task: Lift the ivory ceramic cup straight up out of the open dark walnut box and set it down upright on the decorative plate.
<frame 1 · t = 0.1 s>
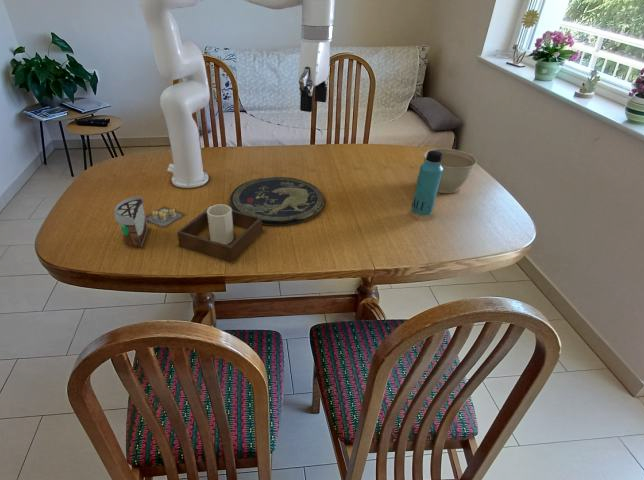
hand: (313, 106, 108), 31 cm above the table, tool pointing down, fingers open, 9 cm apart
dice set: (164, 217, 123), on the table
food container: (133, 239, 113), on the table
wooden box: (222, 238, 113), on the table
decorative plate: (277, 201, 131), on the table
beverage bottle: (420, 215, 125), on the table
cup: (220, 224, 111), in the wooden box
planter bowl: (442, 188, 139), on the table
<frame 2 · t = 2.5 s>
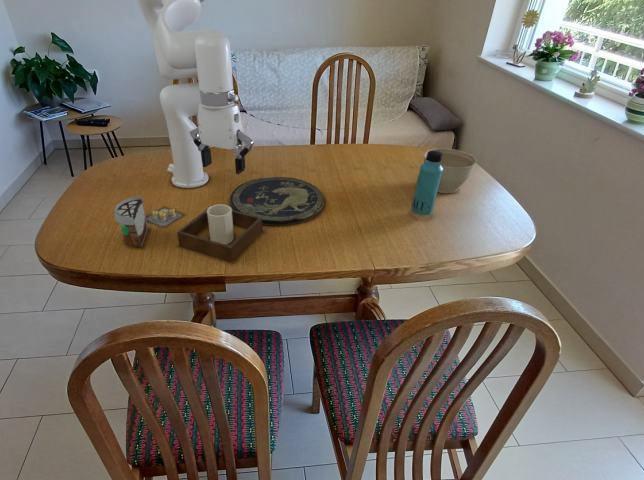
hand: (223, 168, 102), 20 cm above the table, tool pointing down, fingers open, 9 cm apart
nothing on the table moved.
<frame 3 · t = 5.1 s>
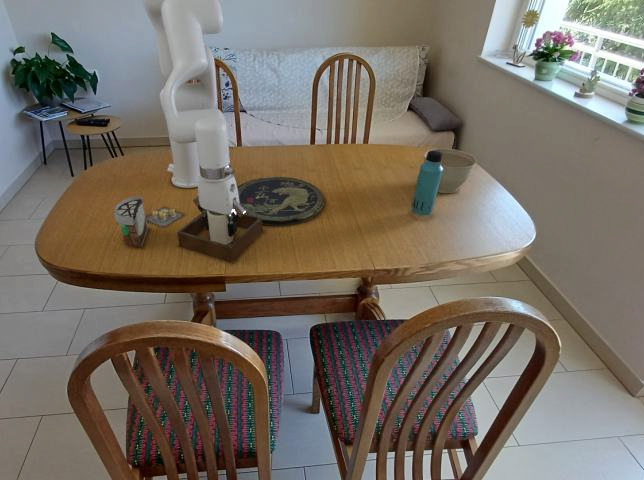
hand: (221, 230, 112), 3 cm above the table, tool pointing down, fingers closed on cup, 6 cm apart
cup: (220, 224, 111), in the wooden box, touching gripper
everything else where it was.
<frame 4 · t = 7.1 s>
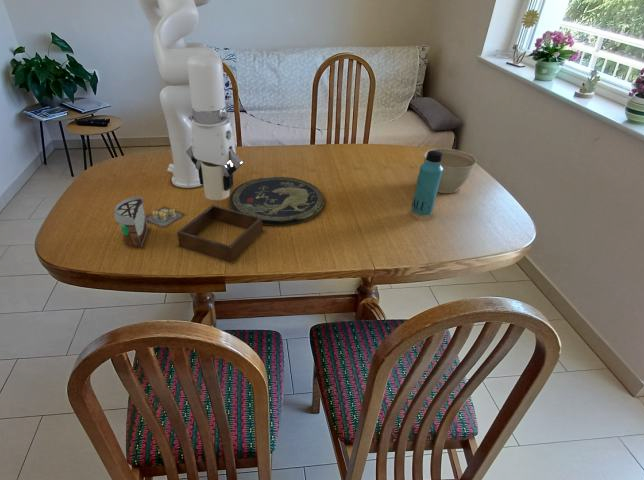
hand: (216, 184, 104), 16 cm above the table, tool pointing down, fingers closed on cup, 6 cm apart
cup: (215, 178, 103), point 18 cm above the table, touching gripper
everything else where it was.
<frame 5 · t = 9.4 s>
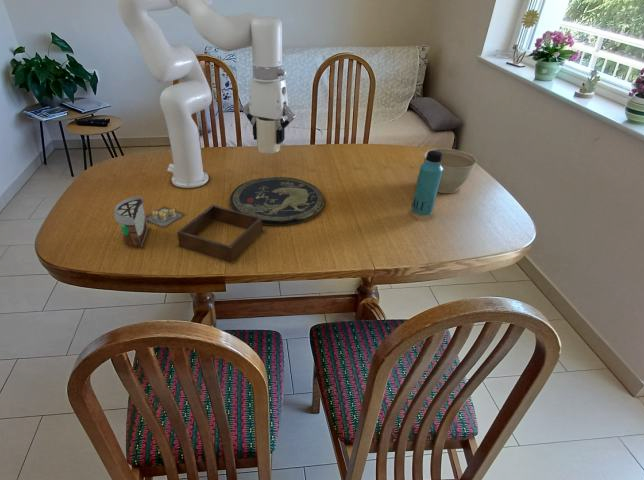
hand: (268, 139, 116), 21 cm above the table, tool pointing down, fingers closed on cup, 6 cm apart
cup: (268, 133, 114), point 23 cm above the table, touching gripper
everything else where it was.
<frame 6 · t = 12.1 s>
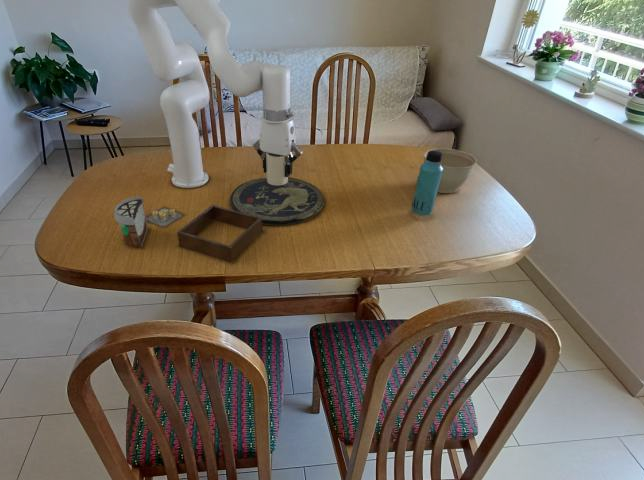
hand: (277, 172, 125), 10 cm above the table, tool pointing down, fingers closed on cup, 6 cm apart
cup: (277, 167, 124), point 12 cm above the table, touching gripper
everything else where it was.
when the fingers open (5 cm above the table, at t = 14.0 s): cup stays where it is, resting on decorative plate.
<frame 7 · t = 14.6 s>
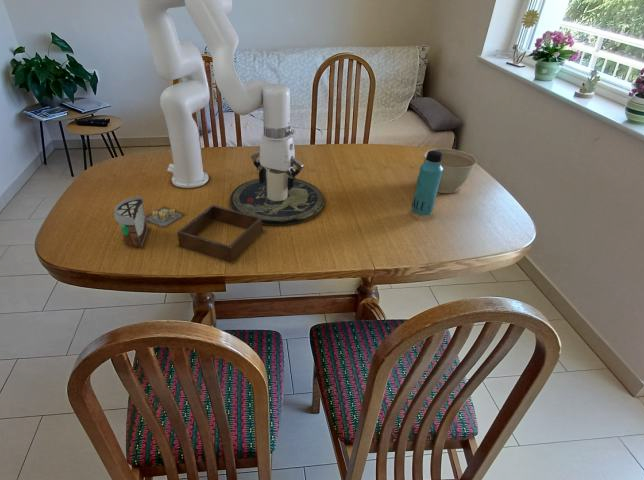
hand: (276, 185, 128), 6 cm above the table, tool pointing down, fingers open, 9 cm apart
decorative plate: (277, 201, 131), on the table, touching cup
cup: (277, 183, 127), point 6 cm above the table, touching decorative plate
everything else where it was.
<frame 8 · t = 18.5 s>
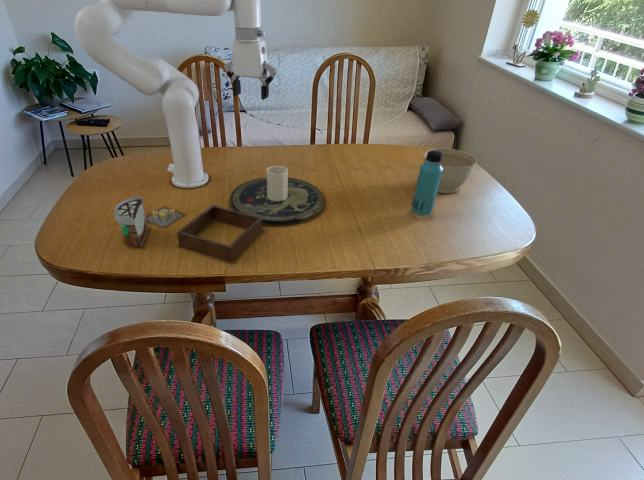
hand: (250, 96, 126), 28 cm above the table, tool pointing down, fingers open, 9 cm apart
nothing on the table moved.
at the end: cup 0.1 cm from the decorative plate (horizontally); cup touching decorative plate; cup tilted 0° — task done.
